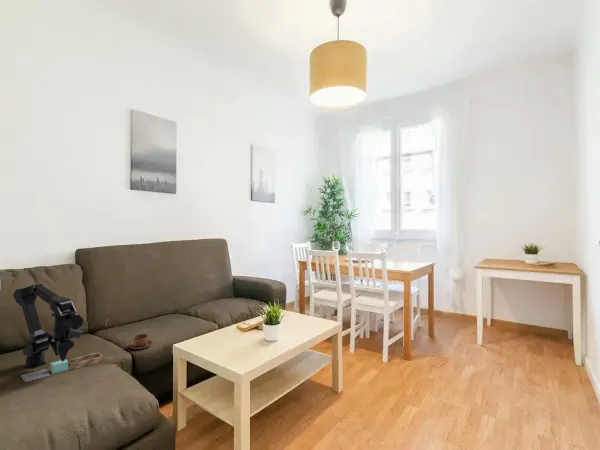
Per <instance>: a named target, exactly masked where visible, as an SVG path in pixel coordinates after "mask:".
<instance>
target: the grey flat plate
mask: <svg viewBox="0 0 600 450" xmlns="http://www.w3.org/2000/svg"><path fill="white" fill-rule="evenodd" d="M51 376H52V375H51V374H50V372H49V371H48V370H47V369H46V368H44V369H43V368H42V369H40V370H36V371H32V372H27V373H24V374H21V375H20V377H21V378H22V380H23V382H24V381H25V382H27V383H29V382H28V381H30V382H33V381H32V380H34V381H37V380H41V379H44V378H47V377H51ZM36 379H37V380H36ZM25 382H24V383H25Z"/></svg>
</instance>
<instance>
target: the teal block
mask: <svg viewBox="0 0 600 450" xmlns="http://www.w3.org/2000/svg"><path fill="white" fill-rule="evenodd" d="M49 369H50V370H49V371H50V373H51V374H52V375H53V374H56V373H60V372H64V371H68V370H69V361H68V360H67V359H66V358H65V361H61V359H60V360H56V361H53V362H50V367H49Z"/></svg>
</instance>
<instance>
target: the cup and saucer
mask: <svg viewBox="0 0 600 450" xmlns="http://www.w3.org/2000/svg"><path fill="white" fill-rule="evenodd" d="M148 337H149V335H148V334H145V333H144V334H137V335H134V336H133V341H132V342H130V343H129V344H128V347H129V348H131V349H133V350H143V349H146V348H149V347H151V346H152V343H153V341H152V340H149V339H148ZM146 344H147V345H146Z"/></svg>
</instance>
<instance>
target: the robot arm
mask: <svg viewBox="0 0 600 450" xmlns="http://www.w3.org/2000/svg"><path fill="white" fill-rule="evenodd" d="M12 296H13V298H14V300H15V302H16V304H18V305H19V306H20V307H22V308H21V309H22V312H23V315H24V320H25V322H26V326H27V330H28V335H29V336H28V338H27V340H26V343H27V345H26V346H25V347H24V348H23V349H22V354H23V355H24V356H26V357H25V364H24V365H23V367H25V368H32V369H36V368H38V367H40V366H42V365H45V364H47V363H48V362H47V361H45V354H46V353H45V352H46V351H49V348H50V347H51V349H52V350H53V353H54V354H55V356H56V357H57V356H59V359H60V360H61V361H65V359H66V357H67V356H68V352H69V350H71V349H73V347H75V341H73V339H72V338H77V339H81V336H82V335H83V331H82V330H81V329H80V328H82V325H83V324H84V318H83V317H82V316H81V314H80V313H78V312H77V309H76V307H75V305H74V303H73V301H72V299H70V298H68V297H65V296H60V295H57V294H56V293H54V291H52V290H50V289H49V288H47V287H46V286H45V285H44V284H43V283H36V284H35V283H34V284H32V285H29V286H26V287H20V288H17V289H16V290H15V291H14V292H13V294H12ZM37 298H40V299H41V300H42V301H44V302H45V303H47V304H48V305H49V309H50V310H51V311H52V312H53V313H52V314H50V316H51V317H54V320H53V322H54V323H53V328H52V331H53V332H51V333H49V331H46V332H45V331H44V330H43V328H42V325H41V322H40V321H41V320H40V318H39V313H38V311H37V307H36V304H35V303H36V300H37Z"/></svg>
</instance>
